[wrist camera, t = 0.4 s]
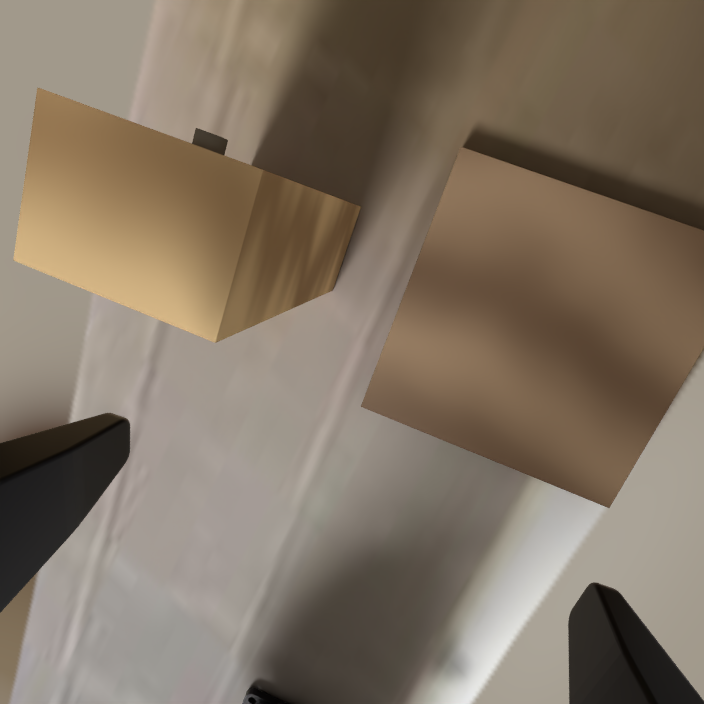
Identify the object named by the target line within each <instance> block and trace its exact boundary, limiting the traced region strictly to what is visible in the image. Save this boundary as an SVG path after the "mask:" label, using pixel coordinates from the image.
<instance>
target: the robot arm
mask: <svg viewBox="0 0 704 704" xmlns="http://www.w3.org/2000/svg"><path fill="white" fill-rule="evenodd" d="M129 453H130V423H129V421H128V419H126V418H124V417H121V416H118V415H115V414H113V413H105V414H101V415H98V416H94V417H91V418H87V419H84V420H80V421H77V422H73V423H70V424H66V425H63V426H59V427H56V428H52V429H49V430H45V431H42V432H38V433H35V434H31V435H28V436H24V437H21V438H17V439H14V440H10V441H6V442H3V443H0V612H1V611H2V610H3V609H4V608H5V607H6V606H7V605H8V604H9V603H10V601H11V600H12V599H13V598H14V597H15V596H16V595H17V594H18V593H19V591H20V590H21V589H22V588H23V587H24V586H25V585H26V584H27V583H28V582H29V580H30V579H31V578H32V577H33V576H34V575H35V574H36V573H37V572H38V571H39V569H40V568H41V567H42V566H43V565H44V564H45V563H46V562H47V561H48V560H49V558H50V557H51V556H52V555H53V554H54V553H55V552H56V551H57V550H58V549H59V547H60V546H61V545H62V544H63V543H64V542H65V541H66V540H67V539H68V537H69V536H70V535H71V534H72V533H73V532H74V531H75V529H76V528H77V527H78V526H79V525H80V523H81V522H82V521H83V519H84V518H85V517H86V516H87V514H88V513H89V512H90V510H91V509H92V508H93V506H94V505H95V503H96V502H97V501H98V499H99V498H100V497H101V495H102V494H103V493H104V491H105V490H106V489H107V487H108V486H109V485H110V483H111V482H112V481H113V479H114V478H115V477H116V475H117V474H118V472H119V471H120V470H121V468H122V467H123V466H124V464H125V463H126V461H127V459H128V457H129ZM568 628H569V704H704V700H703V699H702V698H701V697H700V695H699V694H698V693H697V691H696V690H695V689H694V688H693V686H692V685H691V684H690V683H689V681H688V680H687V679H686V677H685V676H684V675H683V673H682V672H681V671H680V670H679V669H678V667H677V666H676V664H675V663H674V662H673V661H672V659H671V658H670V657H669V656H668V654H667V653H666V652H665V650H664V649H663V648H662V646H661V645H660V644H659V643H658V641H657V640H656V639H655V637H654V636H653V635H652V634H651V632H650V631H649V630H648V629H647V627H646V626H645V625H644V623H643V622H642V621H641V619H640V618H639V617H638V616H637V614H636V613H635V612H634V610H633V609H632V608H631V606H630V605H629V604H628V603H627V601H626V600H625V599H624V597H623V596H622V595H621V594H620V593H619V592H618V591H617V590H615V589H613V588H610V587H608V586H605V585H602V584H599V583H591V584H589V585H588V587H587V588H586V589H585V591H584V592H583V594H582V595H581V597H580V598H579V600H578V601H577V603H576V604H575V606H574V607H573V609H572V611H571V613H570V616H569V624H568ZM242 704H287V703H285V702H283V701H281V700H279V699H277V698H275V697H273V696H271V695H269V694H267V693H265V692H263V691H260V690H258V689H256V688H250V689H249V690H248V691H247V693H246V695H245V698H244V700H243V703H242Z"/></svg>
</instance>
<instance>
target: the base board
mask: <svg viewBox="0 0 704 704" xmlns="http://www.w3.org/2000/svg"><path fill="white" fill-rule="evenodd" d="M703 349H704V230H701V229H698V228H695V227H692V226H689V225H686V224H683V223H681V222H678V221H675V220H672V219H669V218H666V217H663V216H660V215H657V214H654V213H652V212H649V211H646V210H643V209H640V208H637V207H634V206H631V205H628V204H625V203H623V202H620V201H617V200H614V199H611V198H608V197H605V196H602V195H599V194H596V193H594V192H591V191H588V190H585V189H582V188H579V187H576V186H573V185H570V184H567V183H565V182H562V181H559V180H556V179H553V178H550V177H547V176H544V175H541V174H538V173H536V172H533V171H530V170H527V169H524V168H521V167H518V166H515V165H512V164H509V163H507V162H504V161H501V160H498V159H495V158H492V157H489V156H486V155H483V154H480V153H478V152H475V151H472V150H469V149H466V148H463V147H460V150H459V153H458V155H457V158H456V160H455V163H454V166H453V168H452V171H451V173H450V176H449V179H448V181H447V184H446V186H445V189H444V192H443V194H442V197H441V199H440V202H439V205H438V207H437V210H436V212H435V215H434V218H433V220H432V223H431V225H430V228H429V231H428V233H427V236H426V238H425V241H424V244H423V246H422V249H421V251H420V254H419V257H418V259H417V262H416V264H415V267H414V270H413V272H412V275H411V277H410V280H409V283H408V285H407V288H406V290H405V293H404V296H403V298H402V301H401V303H400V306H399V309H398V311H397V314H396V316H395V319H394V322H393V324H392V327H391V329H390V332H389V335H388V337H387V340H386V342H385V345H384V348H383V350H382V353H381V355H380V358H379V361H378V363H377V366H376V368H375V371H374V374H373V376H372V379H371V381H370V384H369V387H368V389H367V392H366V394H365V397H364V400H363V402H362V405H361V407H363V408H366V409H368V410H371V411H373V412H376V413H378V414H380V415H383V416H385V417H388V418H390V419H393V420H395V421H398V422H400V423H402V424H405V425H407V426H410V427H412V428H415V429H417V430H420V431H422V432H424V433H427V434H429V435H432V436H434V437H437V438H439V439H442V440H444V441H446V442H449V443H451V444H454V445H456V446H459V447H461V448H464V449H466V450H468V451H471V452H473V453H476V454H478V455H481V456H483V457H486V458H488V459H490V460H493V461H495V462H498V463H500V464H503V465H505V466H508V467H510V468H512V469H515V470H517V471H520V472H522V473H525V474H527V475H530V476H532V477H534V478H537V479H539V480H542V481H544V482H547V483H549V484H552V485H554V486H556V487H559V488H561V489H564V490H566V491H569V492H571V493H574V494H576V495H578V496H581V497H583V498H586V499H588V500H591V501H593V502H596V503H598V504H600V505H603V506H605V507H608V508H610V506H611V504H612V502H613V501H614V499H615V497H616V496H617V494H618V492H619V491H620V489H621V487H622V486H623V484H624V482H625V480H626V479H627V477H628V475H629V474H630V472H631V470H632V469H633V467H634V465H635V464H636V462H637V460H638V458H639V457H640V455H641V453H642V452H643V450H644V448H645V447H646V445H647V443H648V442H649V440H650V438H651V437H652V435H653V433H654V431H655V430H656V428H657V426H658V425H659V423H660V421H661V420H662V418H663V416H664V415H665V413H666V411H667V409H668V408H669V406H670V404H671V403H672V401H673V399H674V398H675V396H676V394H677V393H678V391H679V389H680V387H681V386H682V384H683V382H684V381H685V379H686V377H687V376H688V374H689V372H690V371H691V369H692V367H693V365H694V364H695V362H696V360H697V359H698V357H699V355H700V354H701V352H702V350H703Z"/></svg>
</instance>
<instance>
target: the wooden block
mask: <svg viewBox="0 0 704 704" xmlns="http://www.w3.org/2000/svg"><path fill="white" fill-rule="evenodd" d="M227 142H228V140H226V139H224V138H222V137H219V136H217V135H214V134H211V133H209V132H206V131H203V130H201V129H198V128H196V130H195V134H194V138H193V142H192V144H191V143H188V142H186V141H183V140H180V139H177V138H175V137H172V136H169V135H166V134H164V133H161V132H158V131H155V130H153V129H150V128H147V127H145V126H142V125H139V124H136V123H134V122H131V121H128V120H125V119H123V118H120V117H117V116H114V115H111V114H109V113H106V112H103V111H100V110H98V109H95V108H92V107H89V106H87V105H84V104H82V103H79V102H76V101H73V100H71V99H68V98H65V97H62V96H60V95H57V94H54V93H51V92H49V91H46V90H43V89H40V88H38V89H37V95H36V102H35V109H34V116H33V124H32V131H31V138H30V145H29V152H28V159H27V167H26V174H25V181H24V189H23V196H22V202H21V210H20V217H19V224H18V231H17V238H16V246H15V253H14V261H16V262H19V263H21V264H24V265H26V266H29V267H31V268H34V269H36V270H38V271H41V272H44V273H46V274H48V275H51V276H53V277H56V278H58V279H61V280H63V281H65V282H68V283H70V284H73V285H75V286H78V287H80V288H83V289H85V290H88V291H90V292H92V293H95V294H97V295H100V296H102V297H105V298H107V299H109V300H112V301H114V302H117V303H119V304H122V305H124V306H127V307H129V308H132V309H134V310H136V311H139V312H141V313H144V314H146V315H149V316H151V317H154V318H156V319H158V320H161V321H163V322H166V323H168V324H171V325H173V326H176V327H178V328H181V329H183V330H185V331H188V332H190V333H193V334H195V335H198V336H200V337H203V338H205V339H207V340H210V341H212V342H215V343H216V342H218V341H220V340H223V339H225V338H227V337H229V336H232V335H234V334H236V333H238V332H241V331H243V330H245V329H247V328H249V327H252V326H254V325H256V324H258V323H261V322H263V321H265V320H267V319H270V318H272V317H274V316H276V315H279V314H281V313H283V312H285V311H288V310H290V309H292V308H294V307H297V306H299V305H301V304H303V303H305V302H308V301H310V300H312V299H314V298H317V297H319V296H321V295H323V294H326V293H328V292H330V291H332V290H333V288H334V285H335V282H336V279H337V276H338V273H339V270H340V267H341V265H342V262H343V259H344V256H345V253H346V250H347V247H348V244H349V241H350V238H351V235H352V232H353V229H354V226H355V223H356V220H357V217H358V215H359V212H360V209H361V207H360V206H357V205H355V204H352V203H350V202H347V201H344V200H342V199H339V198H336V197H334V196H331V195H328V194H326V193H323V192H320V191H318V190H315V189H313V188H310V187H307V186H305V185H302V184H299V183H297V182H294V181H291V180H289V179H286V178H283V177H281V176H278V175H276V174H273V173H270V172H268V171H265V170H262V169H260V168H257V167H254V166H251V165H249V164H246V163H243V162H240V161H238V160H235V159H232V158H229V157H227V156H224V154H225V150H226V146H227Z"/></svg>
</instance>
